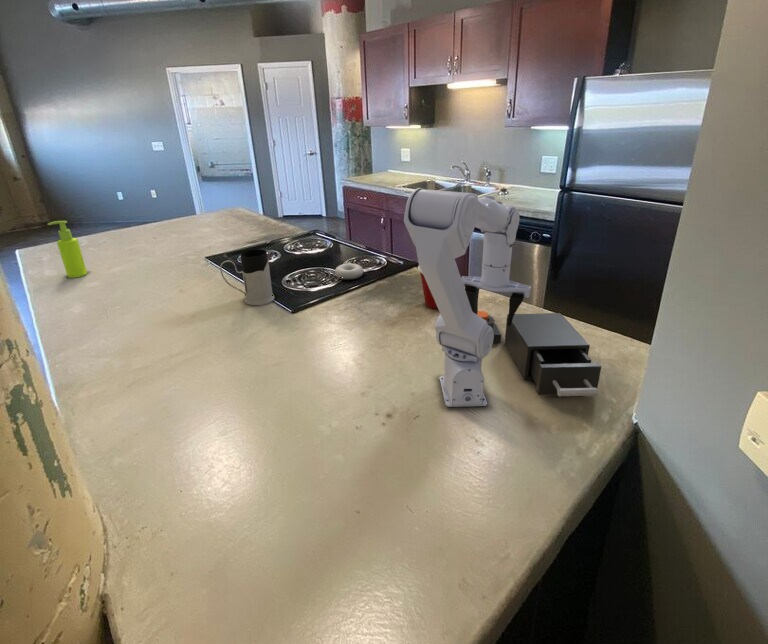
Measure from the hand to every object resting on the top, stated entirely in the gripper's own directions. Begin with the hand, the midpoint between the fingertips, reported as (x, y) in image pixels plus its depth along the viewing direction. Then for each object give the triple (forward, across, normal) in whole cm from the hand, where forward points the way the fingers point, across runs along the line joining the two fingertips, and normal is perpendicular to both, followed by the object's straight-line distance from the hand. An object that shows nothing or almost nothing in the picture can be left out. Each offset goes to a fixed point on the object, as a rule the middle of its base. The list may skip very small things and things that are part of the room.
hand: (491, 320), depth 91 cm
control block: (+10, +5, -11) cm, 16 cm away
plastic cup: (+10, +20, -22) cm, 32 cm away
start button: (+6, +5, -11) cm, 14 cm away
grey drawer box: (+10, -11, -4) cm, 15 cm away
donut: (+10, +56, -32) cm, 65 cm away
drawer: (+9, -15, +3) cm, 18 cm away
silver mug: (+10, +73, -2) cm, 74 cm away
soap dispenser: (+10, +148, +6) cm, 149 cm away
